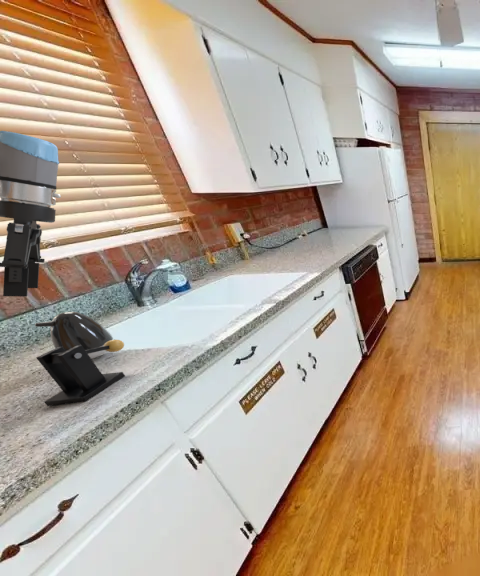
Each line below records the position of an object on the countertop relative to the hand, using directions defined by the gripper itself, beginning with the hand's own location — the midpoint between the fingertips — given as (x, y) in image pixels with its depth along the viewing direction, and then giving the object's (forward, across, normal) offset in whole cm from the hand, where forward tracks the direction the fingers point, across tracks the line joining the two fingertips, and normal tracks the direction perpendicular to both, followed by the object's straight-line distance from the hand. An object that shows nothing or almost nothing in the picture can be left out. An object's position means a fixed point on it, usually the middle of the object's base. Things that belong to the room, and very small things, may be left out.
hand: (21, 291), depth 70 cm
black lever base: (+26, -1, -10) cm, 28 cm away
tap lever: (+18, +1, -10) cm, 21 cm away
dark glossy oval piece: (+24, +22, -10) cm, 34 cm away
